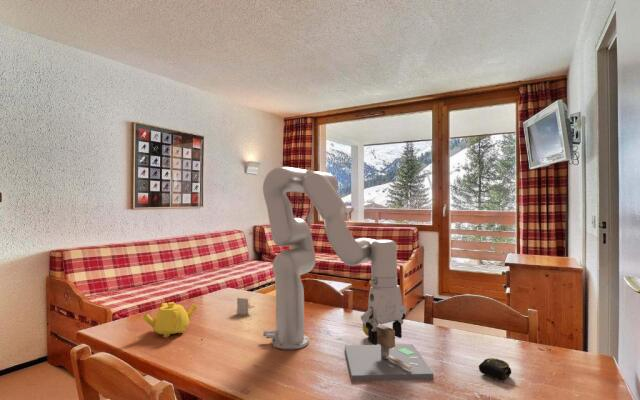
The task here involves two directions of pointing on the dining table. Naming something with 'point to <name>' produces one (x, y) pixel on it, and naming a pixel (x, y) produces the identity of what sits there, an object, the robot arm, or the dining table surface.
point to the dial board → (385, 363)
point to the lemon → (366, 328)
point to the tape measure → (495, 368)
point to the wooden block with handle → (388, 344)
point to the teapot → (170, 319)
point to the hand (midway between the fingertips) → (385, 339)
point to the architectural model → (243, 306)
